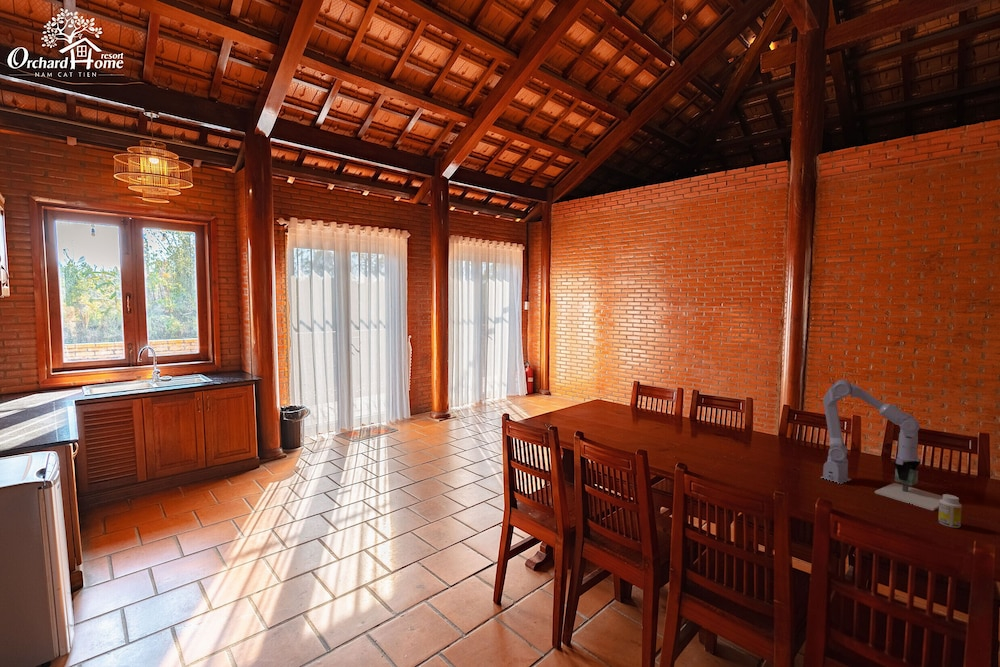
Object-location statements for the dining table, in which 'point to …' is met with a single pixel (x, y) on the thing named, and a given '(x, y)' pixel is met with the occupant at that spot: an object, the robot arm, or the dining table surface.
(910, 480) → the collar
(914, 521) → the dining table surface
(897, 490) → the pin plate
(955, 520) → the supplement bottle
